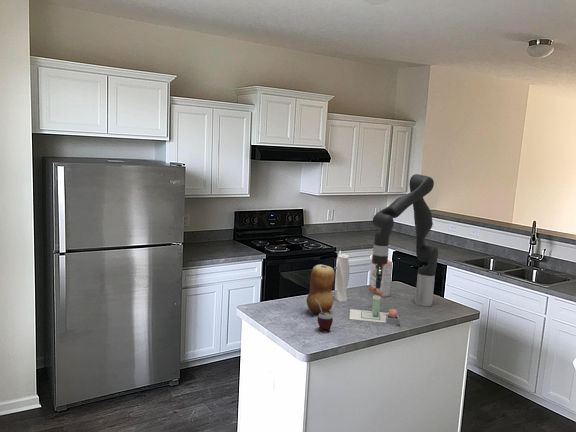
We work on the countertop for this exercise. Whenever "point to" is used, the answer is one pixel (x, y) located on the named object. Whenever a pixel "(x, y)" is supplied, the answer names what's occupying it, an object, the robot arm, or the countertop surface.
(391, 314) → the button
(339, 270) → the skyscraper
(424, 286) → the robot arm
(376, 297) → the marker
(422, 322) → the countertop surface
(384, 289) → the cracker box
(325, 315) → the mate gourd
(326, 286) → the butternut squash
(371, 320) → the white flat board
